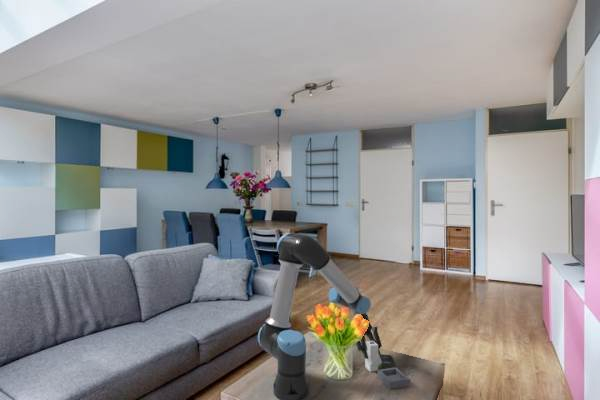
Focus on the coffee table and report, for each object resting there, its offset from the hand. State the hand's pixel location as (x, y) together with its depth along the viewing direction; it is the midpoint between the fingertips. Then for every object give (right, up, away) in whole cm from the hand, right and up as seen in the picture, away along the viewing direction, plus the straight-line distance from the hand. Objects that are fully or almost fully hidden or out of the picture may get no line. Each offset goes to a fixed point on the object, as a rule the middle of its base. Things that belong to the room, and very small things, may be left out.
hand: (375, 364), depth 162 cm
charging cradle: (+6, -4, -7) cm, 10 cm away
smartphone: (+7, -4, +10) cm, 13 cm away
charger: (-1, -4, +4) cm, 5 cm away
